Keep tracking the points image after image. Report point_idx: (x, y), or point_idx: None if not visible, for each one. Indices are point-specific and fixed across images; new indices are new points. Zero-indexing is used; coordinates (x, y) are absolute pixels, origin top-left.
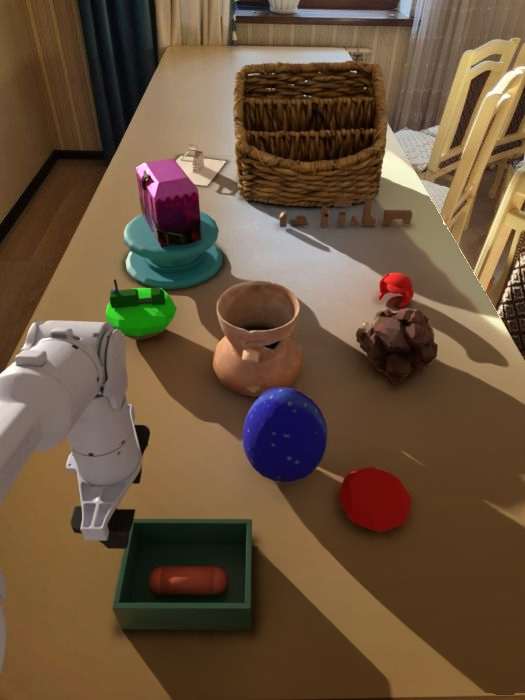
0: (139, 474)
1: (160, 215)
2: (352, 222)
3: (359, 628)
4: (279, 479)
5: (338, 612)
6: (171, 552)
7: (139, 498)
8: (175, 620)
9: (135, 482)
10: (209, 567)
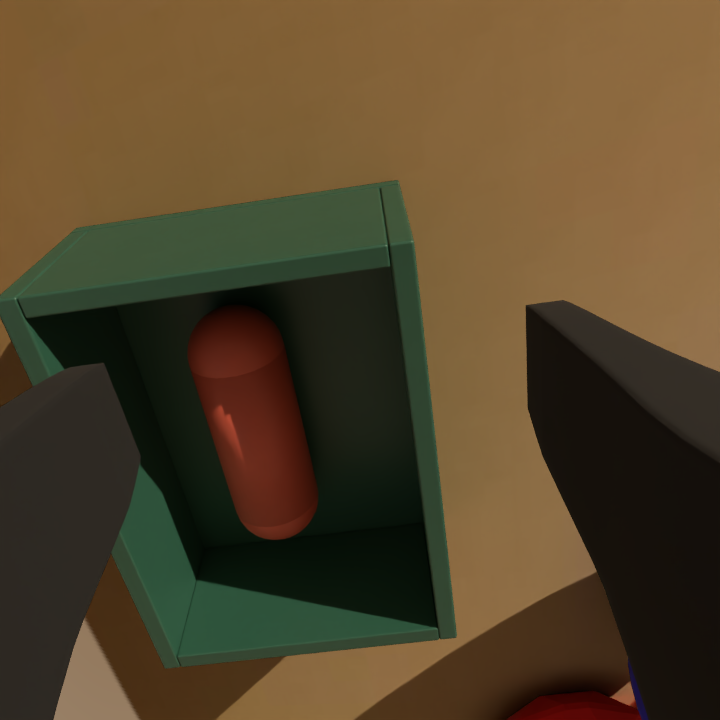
0: (557, 483)
1: None
2: None
3: (262, 715)
4: None
5: (286, 687)
6: (367, 325)
7: (602, 124)
8: None
9: (531, 394)
10: (298, 500)
